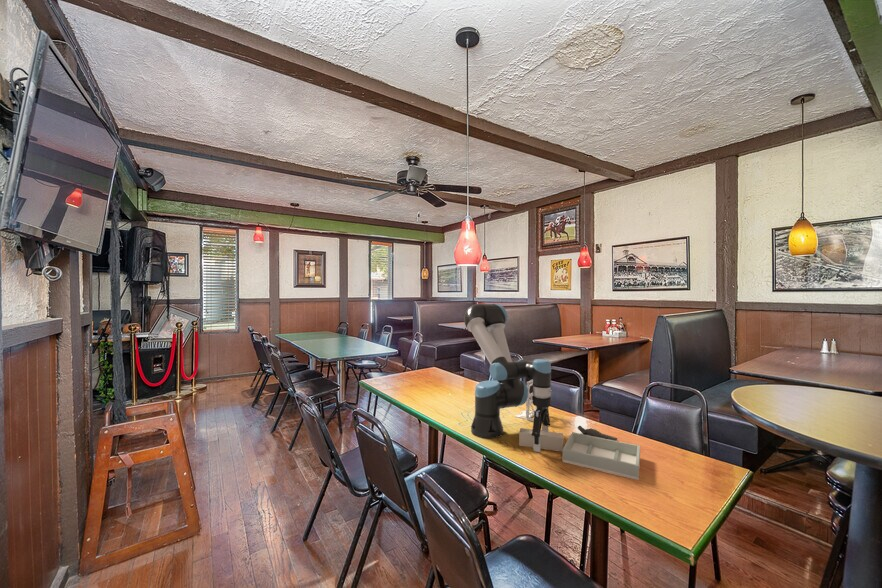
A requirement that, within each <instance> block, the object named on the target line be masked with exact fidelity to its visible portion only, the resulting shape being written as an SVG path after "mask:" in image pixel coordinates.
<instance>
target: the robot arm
mask: <svg viewBox="0 0 882 588" xmlns="http://www.w3.org/2000/svg"><path fill="white" fill-rule="evenodd" d="M507 322H508V313H507V310H506V308H505V307H504V306H503V305H501V304H497V303H484V304H483V303H475V304H472V305H471V306H469V307H467V309H466V311H465V313H464V315H463V323H464V325H465V327H466V330H467V331H468V332H471V334H472V335H473V337H474V339H475V341H476V342H477V344H478V346H479V347H480V349H481V351H482V353H483V354H484V356H485V358H486V359H487V361H488V363H489V364H490V365H489V369H488V370H489V371H488V372H489V375H490V378H491V380H484V381H480V382H478V383H477V384H475V389H474V416H473V420H472V422H471V426H470V432H471V434H473V435H474V436H476V437H479V438H484V439H495V438H499V437H500V438H501V436H502V435H503V434H504V426H503V423H502V420H501V416H500V415H501V413H500V412H501V409H506V408H516V407H519V406H523V405H526V401H527V398H528V388H527V383H525V381H523V380H521V379H530V380H533V385H532V393H533V396H532V400H533V404H532V406H533V405H534V406H537V409H536V411H534V416H533V419H534V422H533V421H532V422H533V423H532V424H533V425H532V430H533V431H532V434H531V435H532V436H534V448H533V452H535V453H541V436H540V432H541V431H548V432H549V426H550V427H551V423H550V422H551V421H550V420H551V418H550V413H549V412H550V411H549V407H551V404H552V403H551V401H552V399H551V395H552V392H553V390H552V389H551V387H552V384H551V382H552V366H551V365H552V364H551V361H550V360H549V359H543V358H536V359H533V361H530V360H528V359H521V358H520V359H518V360H516V361H513V360H512V356H511V353H510V349H509V346H508V341H507V337H506V333H505V330H504V329H505V328H506V323H507Z"/></svg>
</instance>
